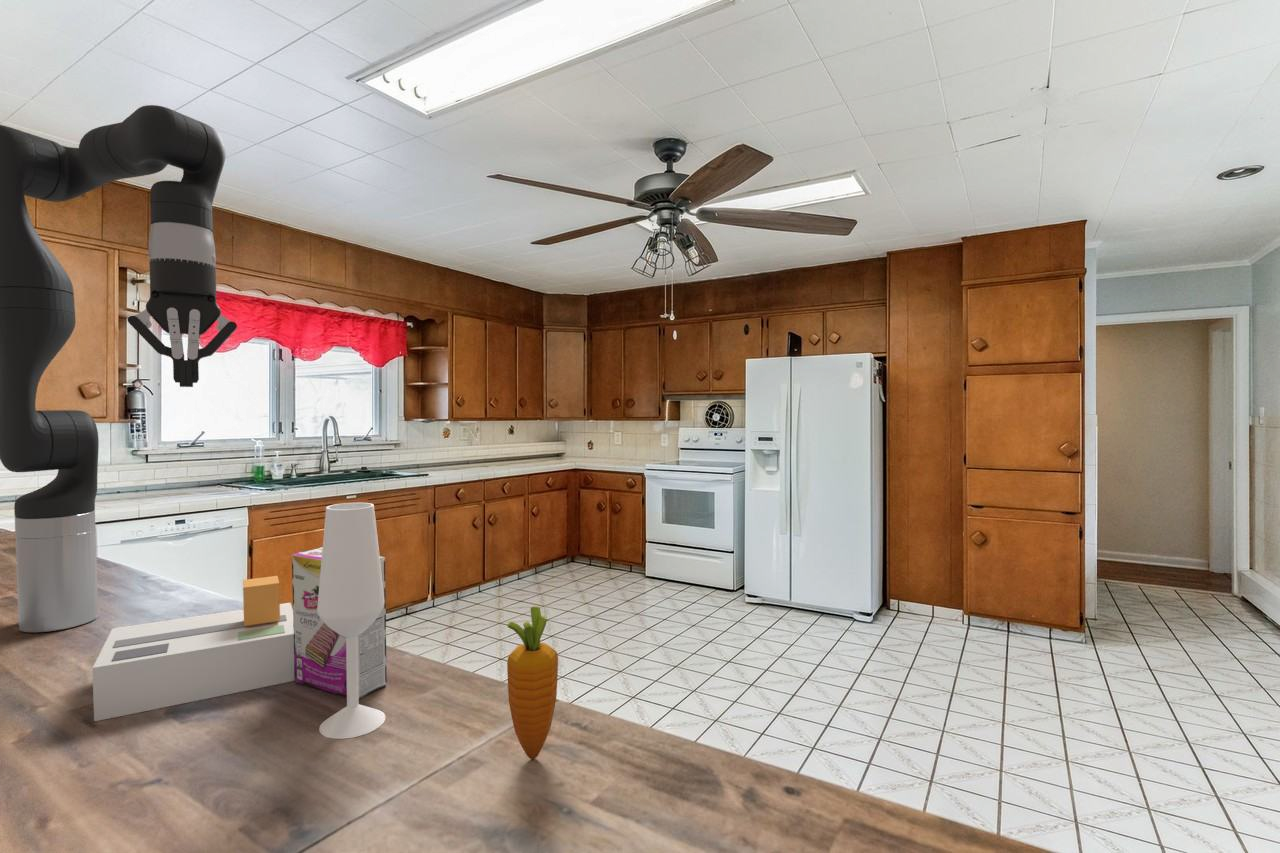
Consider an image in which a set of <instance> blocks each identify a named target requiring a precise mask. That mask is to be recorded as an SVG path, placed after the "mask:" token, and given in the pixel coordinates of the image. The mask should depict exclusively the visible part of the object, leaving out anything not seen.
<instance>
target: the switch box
mask: <svg viewBox="0 0 1280 853" xmlns="http://www.w3.org/2000/svg"><path fill="white" fill-rule="evenodd" d="M98 654H99V655H98V656H97V658H96V660H95V662H94V664H93V666H92V691H93V692H92V694H93V722H98V721H104V720H108V719H109V720H110V719H113V718H119V717H123V716H129V715H133V714H138V713H143V712H147V711H152V710H157V709H162V708H168V707H172V706H177V705H183V704H187V703H192V702H197V701H198V702H199V701H202V700H207V699H210V698H211V699H212V698H217V697H221V696H222V697H223V696H226V695H227V696H228V695H231V694H235V693H236V694H237V693H241V692H245V691H251V690H256V689H261V688H266V687H271V686H275V685H276V686H277V685H280V684H285V683H291V682H295V681H294V680H295V678H294V631H293V605H292V602H286V603H280V621H275V622H268V623H262V624H256V625H249V626H244V608H243V609H237V610H231V611H223V612H217V613H208V614H202V615H198V616H197V615H196V616H189V617H182V618H175V619H168V620H160V621H155V622H148V623H141V624H134V625H128V626H120V627H113V628H112V629H111V631H110V632H109V635H108V637H107V639H106V641H105V642H104V645H103V646H102V648H101V650H100V652H99V653H98Z"/></svg>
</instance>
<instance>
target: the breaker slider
mask: <svg viewBox="0 0 1280 853" xmlns="http://www.w3.org/2000/svg"><path fill="white" fill-rule="evenodd" d="M242 594H243V595H242V596H243V597H242V598H243V599H242V600H243V601H242V602H243V603H242V605H243V606H242V607H243V609H244V626H249V625H256V624H262V623H268V622H275V621H280V604H281V601H280V600H281V597H280V581H279V577H278V575H273V576H264V577H257V578H256V577H255V578H249V579H243V580H242Z"/></svg>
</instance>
